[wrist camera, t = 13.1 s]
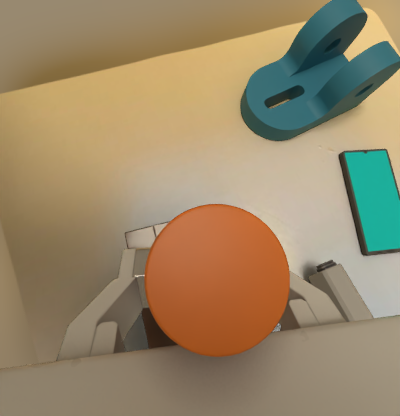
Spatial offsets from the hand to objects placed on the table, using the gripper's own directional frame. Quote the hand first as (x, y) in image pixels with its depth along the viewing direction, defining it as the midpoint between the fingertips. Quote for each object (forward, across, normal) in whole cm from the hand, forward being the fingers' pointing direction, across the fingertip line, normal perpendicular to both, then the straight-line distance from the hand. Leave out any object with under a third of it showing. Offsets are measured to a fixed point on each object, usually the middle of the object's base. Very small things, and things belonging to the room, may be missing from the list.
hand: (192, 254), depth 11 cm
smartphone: (+19, -28, +11) cm, 36 cm away
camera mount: (+31, -19, -1) cm, 37 cm away
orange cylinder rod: (+5, 0, +6) cm, 8 cm away
